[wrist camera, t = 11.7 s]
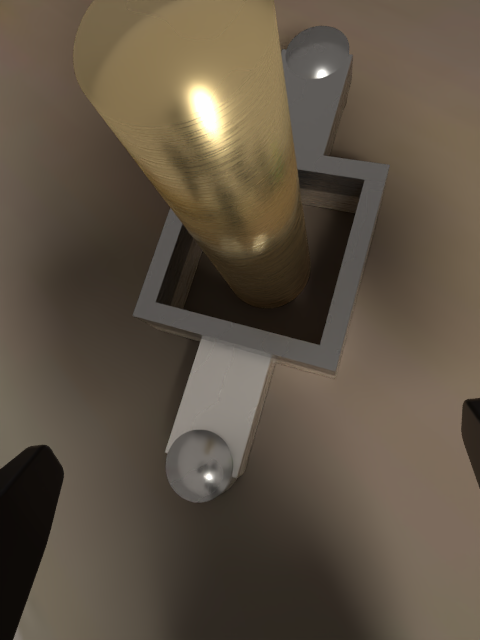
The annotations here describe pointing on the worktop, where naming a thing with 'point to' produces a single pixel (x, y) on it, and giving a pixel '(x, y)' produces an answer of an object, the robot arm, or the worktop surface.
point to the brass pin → (206, 128)
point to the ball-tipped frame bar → (246, 342)
